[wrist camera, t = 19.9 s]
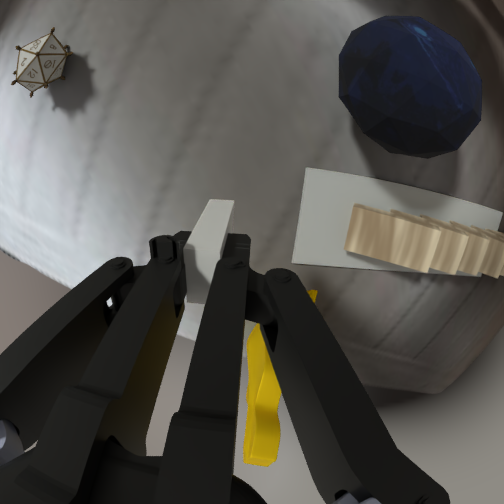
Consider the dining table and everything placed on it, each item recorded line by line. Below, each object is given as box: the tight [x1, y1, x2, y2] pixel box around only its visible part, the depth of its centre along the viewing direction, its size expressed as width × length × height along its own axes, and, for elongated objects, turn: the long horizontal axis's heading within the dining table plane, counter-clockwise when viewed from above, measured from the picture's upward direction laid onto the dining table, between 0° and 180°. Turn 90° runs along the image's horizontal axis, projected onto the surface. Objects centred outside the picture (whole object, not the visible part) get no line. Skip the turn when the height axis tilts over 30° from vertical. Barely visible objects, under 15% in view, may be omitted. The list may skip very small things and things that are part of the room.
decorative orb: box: [339, 16, 482, 159], centre depth 19 cm, size 14×15×15 cm
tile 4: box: [449, 220, 504, 278], centre depth 30 cm, size 2×5×11 cm
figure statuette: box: [243, 290, 318, 467], centre depth 30 cm, size 18×8×22 cm, turn 162°
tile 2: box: [390, 209, 469, 275], centre depth 30 cm, size 2×5×11 cm
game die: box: [11, 27, 73, 97], centre depth 19 cm, size 9×8×10 cm
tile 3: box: [419, 214, 490, 276], centre depth 30 cm, size 2×5×11 cm
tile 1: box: [344, 203, 441, 273], centre depth 30 cm, size 2×5×11 cm
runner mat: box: [292, 167, 503, 277], centre depth 33 cm, size 12×35×1 cm, turn 85°
